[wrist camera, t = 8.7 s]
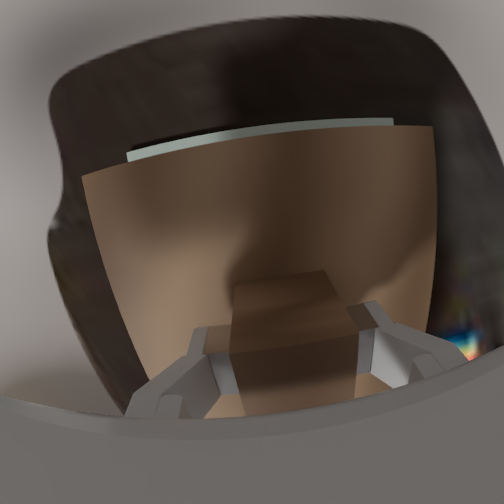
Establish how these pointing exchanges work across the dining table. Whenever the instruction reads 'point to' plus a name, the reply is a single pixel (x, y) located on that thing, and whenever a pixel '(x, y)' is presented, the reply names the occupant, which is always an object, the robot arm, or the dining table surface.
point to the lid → (272, 254)
